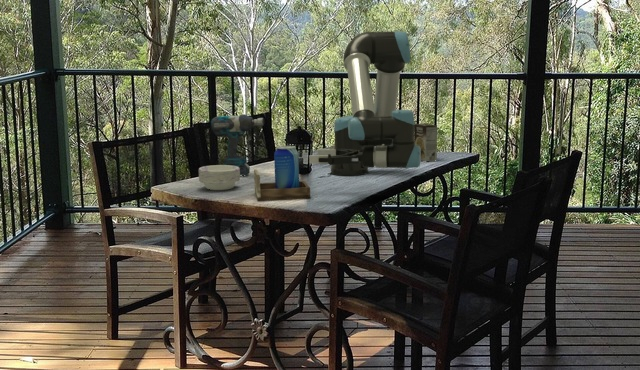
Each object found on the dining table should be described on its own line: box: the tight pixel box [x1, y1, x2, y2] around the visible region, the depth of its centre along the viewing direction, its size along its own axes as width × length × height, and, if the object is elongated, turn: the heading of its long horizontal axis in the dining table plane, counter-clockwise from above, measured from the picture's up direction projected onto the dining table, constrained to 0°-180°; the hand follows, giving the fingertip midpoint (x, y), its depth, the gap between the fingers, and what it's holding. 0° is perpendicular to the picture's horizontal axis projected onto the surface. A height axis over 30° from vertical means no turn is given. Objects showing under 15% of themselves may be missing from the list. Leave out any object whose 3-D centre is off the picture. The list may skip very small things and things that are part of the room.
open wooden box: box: [253, 168, 311, 202], centre depth 274 cm, size 18×14×9 cm
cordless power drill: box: [210, 113, 265, 177], centre depth 320 cm, size 8×23×25 cm, turn 78°
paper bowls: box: [198, 164, 241, 191], centre depth 293 cm, size 15×15×8 cm
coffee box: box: [414, 123, 438, 162], centre depth 348 cm, size 9×6×16 cm
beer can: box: [273, 145, 300, 189], centre depth 273 cm, size 8×8×16 cm
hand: (313, 156), depth 271 cm, fingers open, 13 cm apart
